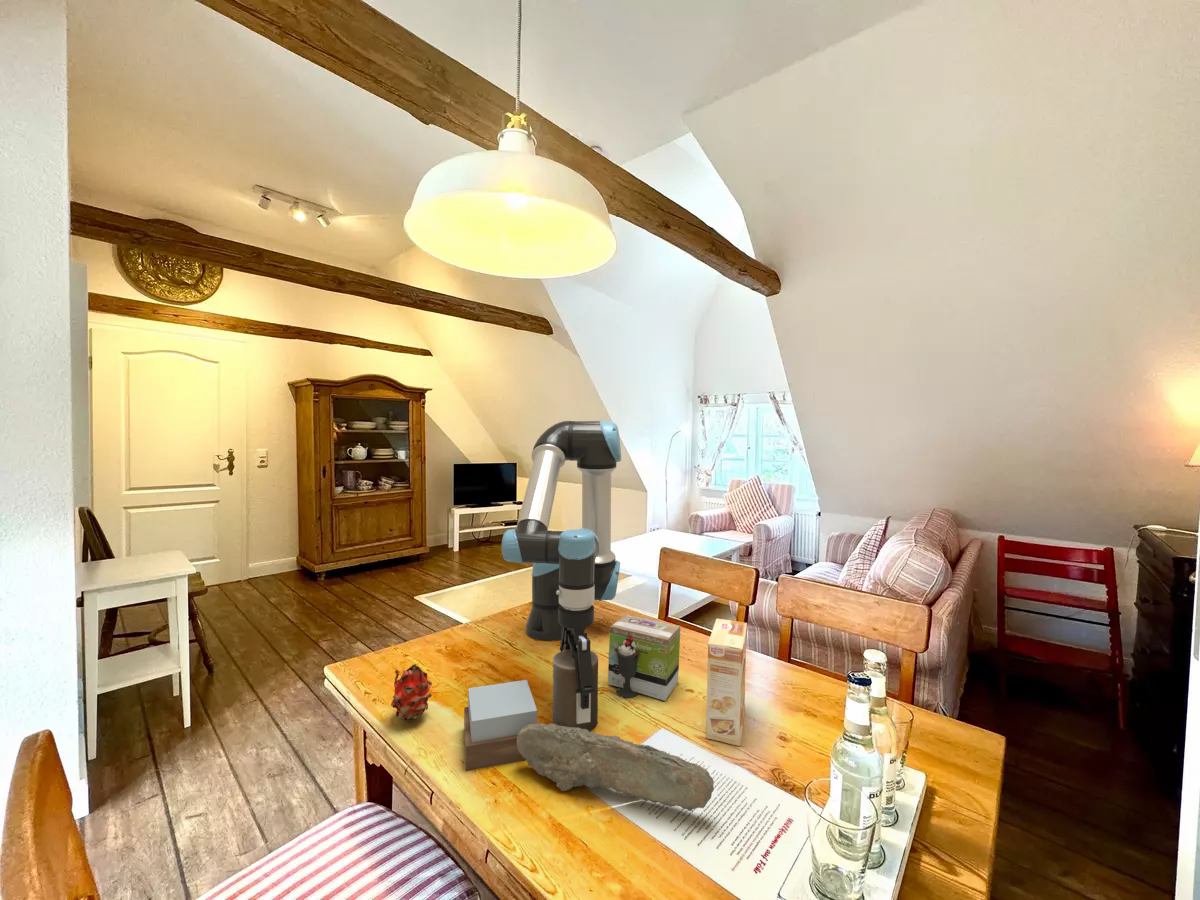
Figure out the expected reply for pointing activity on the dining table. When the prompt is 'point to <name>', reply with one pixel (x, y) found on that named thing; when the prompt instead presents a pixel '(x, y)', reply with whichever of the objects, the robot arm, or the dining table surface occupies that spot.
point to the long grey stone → (613, 765)
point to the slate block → (500, 710)
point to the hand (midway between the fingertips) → (575, 703)
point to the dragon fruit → (411, 693)
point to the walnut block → (489, 749)
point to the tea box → (647, 655)
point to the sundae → (627, 665)
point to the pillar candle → (571, 691)
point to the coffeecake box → (726, 681)
